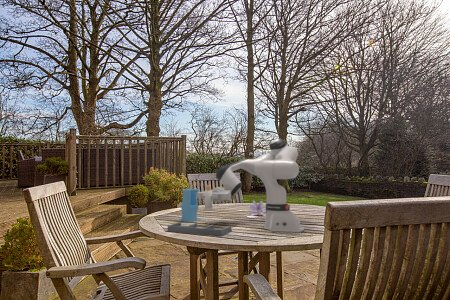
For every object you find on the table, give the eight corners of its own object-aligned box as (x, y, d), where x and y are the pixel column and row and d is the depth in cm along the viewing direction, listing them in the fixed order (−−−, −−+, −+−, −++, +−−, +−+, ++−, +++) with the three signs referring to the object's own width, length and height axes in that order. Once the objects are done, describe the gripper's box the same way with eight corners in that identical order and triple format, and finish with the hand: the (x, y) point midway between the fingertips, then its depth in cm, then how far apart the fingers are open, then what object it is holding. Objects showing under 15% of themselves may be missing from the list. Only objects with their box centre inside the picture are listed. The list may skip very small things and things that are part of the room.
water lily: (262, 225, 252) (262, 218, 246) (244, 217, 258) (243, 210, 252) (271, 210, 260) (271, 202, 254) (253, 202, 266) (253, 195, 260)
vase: (189, 222, 223) (190, 190, 224) (180, 221, 228) (181, 189, 229) (198, 220, 229) (198, 189, 230) (189, 219, 234) (189, 188, 235)
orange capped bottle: (214, 209, 206) (214, 184, 206) (210, 210, 201) (210, 185, 201) (206, 209, 208) (206, 184, 208) (202, 210, 203) (202, 185, 203)
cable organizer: (232, 231, 194) (232, 225, 194) (221, 236, 181) (221, 230, 181) (180, 227, 206) (180, 221, 206) (167, 231, 193) (167, 225, 193)
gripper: (202, 188, 221) (191, 190, 208) (233, 190, 212) (223, 192, 200) (202, 199, 220) (191, 201, 208) (233, 200, 212) (223, 203, 200)
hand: (207, 196), depth 204 cm, fingers closed on orange capped bottle, 4 cm apart
